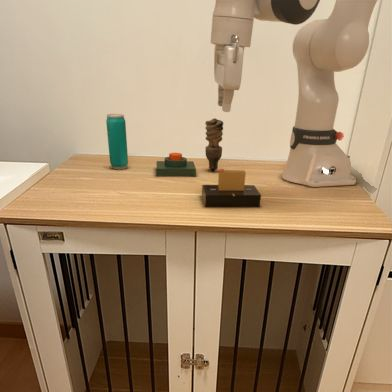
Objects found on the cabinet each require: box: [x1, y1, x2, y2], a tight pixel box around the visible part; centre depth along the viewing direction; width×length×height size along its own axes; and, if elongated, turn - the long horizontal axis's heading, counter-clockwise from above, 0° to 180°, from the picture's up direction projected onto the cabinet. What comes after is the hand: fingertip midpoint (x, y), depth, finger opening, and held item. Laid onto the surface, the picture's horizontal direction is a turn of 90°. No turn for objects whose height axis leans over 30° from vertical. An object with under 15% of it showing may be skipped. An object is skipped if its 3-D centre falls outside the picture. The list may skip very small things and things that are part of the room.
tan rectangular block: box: [217, 168, 246, 191], centre depth 104 cm, size 6×2×5 cm, turn 95°
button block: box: [155, 156, 197, 177], centre depth 129 cm, size 12×10×4 cm
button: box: [168, 152, 183, 160], centre depth 127 cm, size 4×4×2 cm
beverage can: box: [105, 113, 129, 171], centre depth 128 cm, size 6×6×15 cm
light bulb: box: [204, 117, 224, 172], centre depth 128 cm, size 6×6×15 cm
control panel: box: [201, 184, 262, 208], centre depth 106 cm, size 14×11×3 cm
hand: (223, 108), depth 97 cm, fingers open, 8 cm apart
